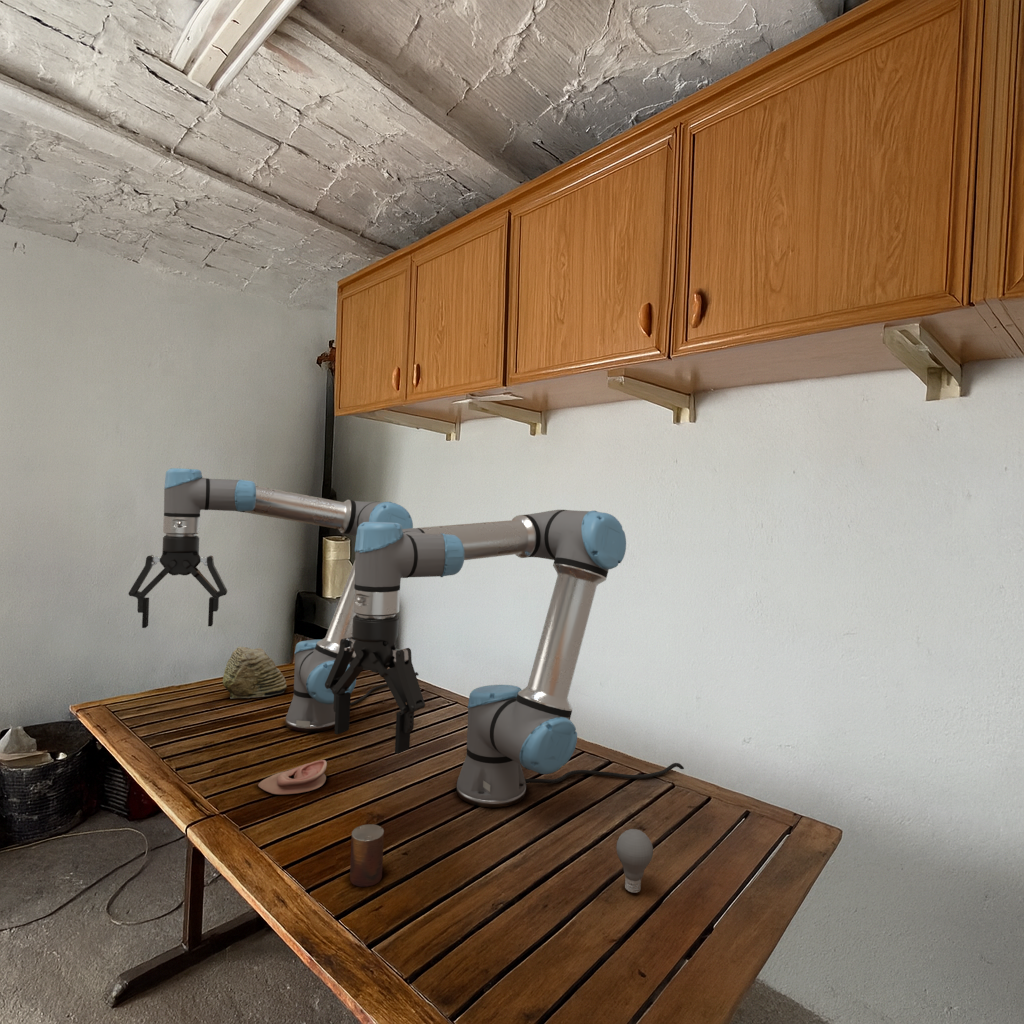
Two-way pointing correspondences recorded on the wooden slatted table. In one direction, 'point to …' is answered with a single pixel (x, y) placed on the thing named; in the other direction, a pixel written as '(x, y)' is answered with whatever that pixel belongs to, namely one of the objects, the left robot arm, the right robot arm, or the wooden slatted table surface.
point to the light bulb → (634, 857)
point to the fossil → (252, 674)
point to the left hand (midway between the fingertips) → (178, 626)
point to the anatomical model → (296, 779)
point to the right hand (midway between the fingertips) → (371, 741)
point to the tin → (366, 855)
